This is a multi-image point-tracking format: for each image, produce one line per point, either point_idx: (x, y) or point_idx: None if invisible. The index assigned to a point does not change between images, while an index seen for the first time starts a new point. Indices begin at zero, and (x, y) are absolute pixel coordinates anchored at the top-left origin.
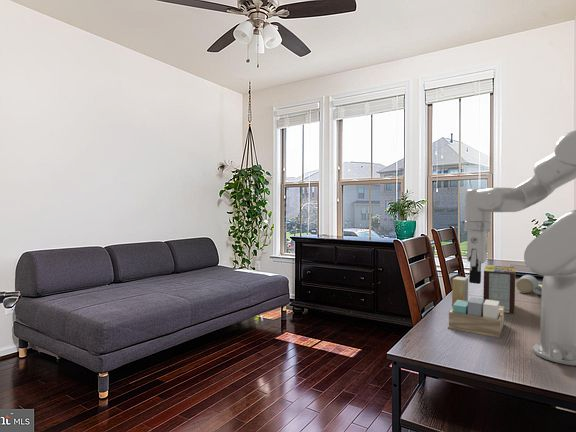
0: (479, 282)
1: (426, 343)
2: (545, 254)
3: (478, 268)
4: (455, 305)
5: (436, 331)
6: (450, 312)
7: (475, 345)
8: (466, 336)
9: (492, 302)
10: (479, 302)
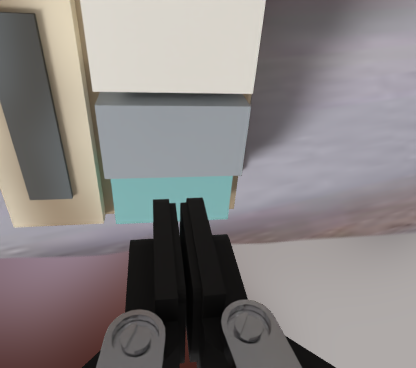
0: (202, 205)
1: (408, 188)
2: None
3: (288, 351)
4: (228, 209)
5: (288, 192)
6: (233, 203)
7: (392, 61)
8: (301, 102)
9: (168, 40)
10: (221, 119)
